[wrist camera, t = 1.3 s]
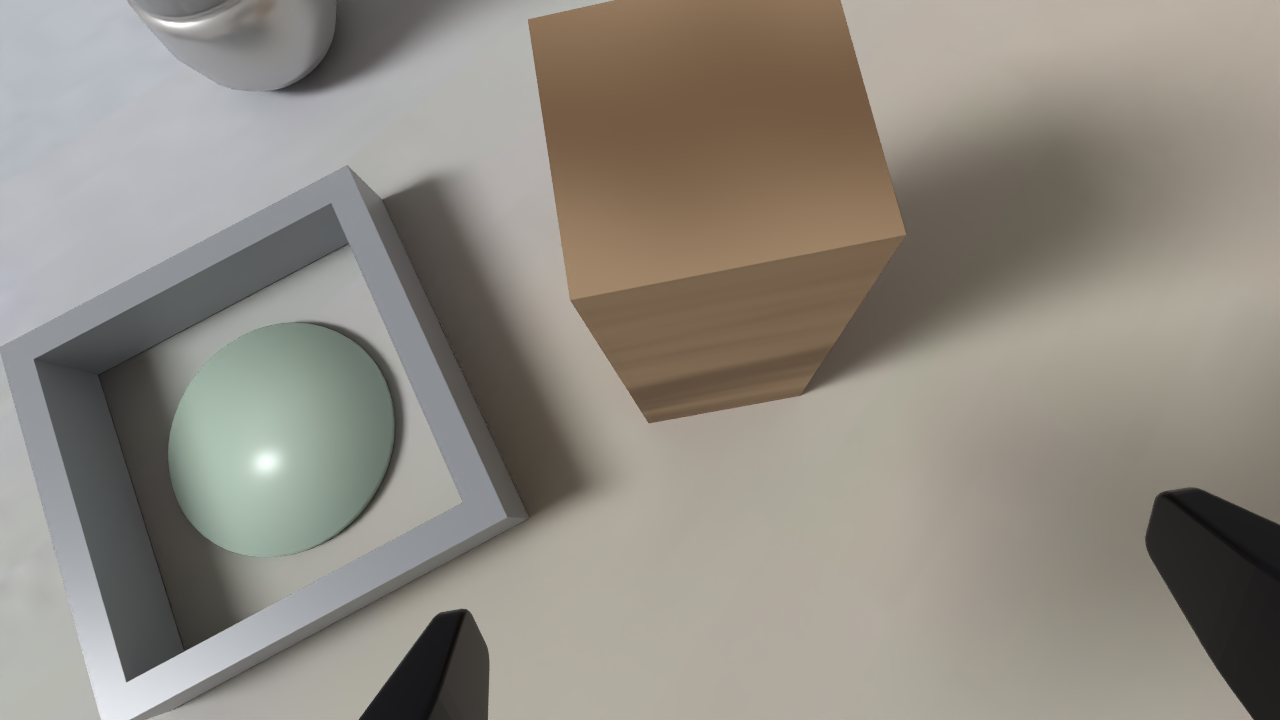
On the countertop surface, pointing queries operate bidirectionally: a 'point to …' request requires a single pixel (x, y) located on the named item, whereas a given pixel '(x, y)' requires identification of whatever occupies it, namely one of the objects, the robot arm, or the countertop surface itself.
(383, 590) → the walled pen
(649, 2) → the walnut block
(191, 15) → the plastic bottle
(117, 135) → the countertop surface
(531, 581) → the countertop surface
